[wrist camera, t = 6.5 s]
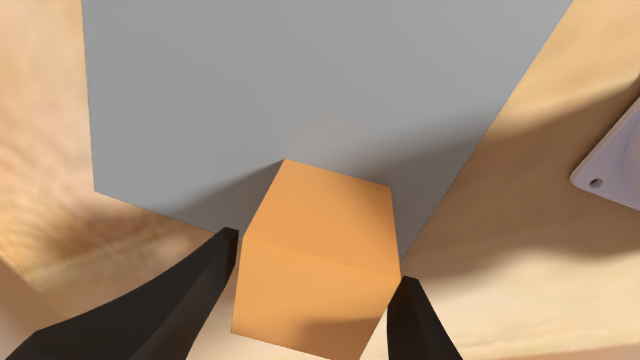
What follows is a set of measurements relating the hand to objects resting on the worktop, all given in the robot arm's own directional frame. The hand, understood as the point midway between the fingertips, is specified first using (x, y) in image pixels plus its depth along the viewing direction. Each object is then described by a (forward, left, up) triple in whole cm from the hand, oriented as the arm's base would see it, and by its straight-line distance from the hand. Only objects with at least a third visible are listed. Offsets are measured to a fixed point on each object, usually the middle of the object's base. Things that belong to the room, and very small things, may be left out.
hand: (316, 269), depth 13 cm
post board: (+4, -5, -5) cm, 8 cm away
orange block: (0, 0, -4) cm, 4 cm away
